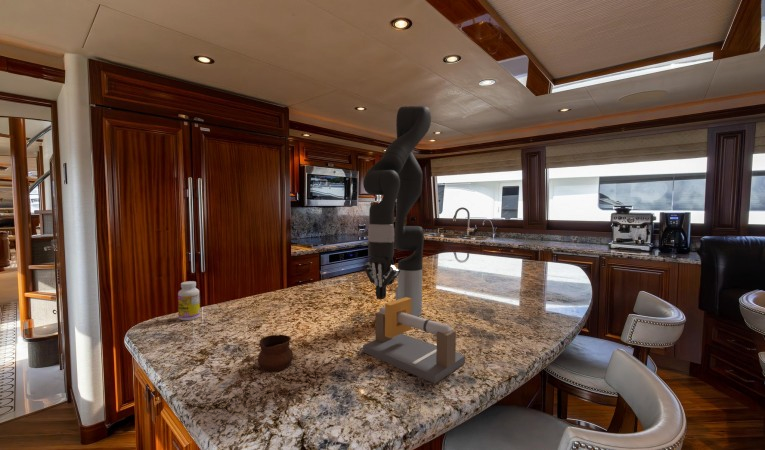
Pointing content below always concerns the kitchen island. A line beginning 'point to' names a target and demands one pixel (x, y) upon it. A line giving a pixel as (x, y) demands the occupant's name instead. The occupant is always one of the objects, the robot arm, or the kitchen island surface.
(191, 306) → the supplement bottle
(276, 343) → the ceramic pot
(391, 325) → the orange square ring
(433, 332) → the pipe stand
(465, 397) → the kitchen island surface
